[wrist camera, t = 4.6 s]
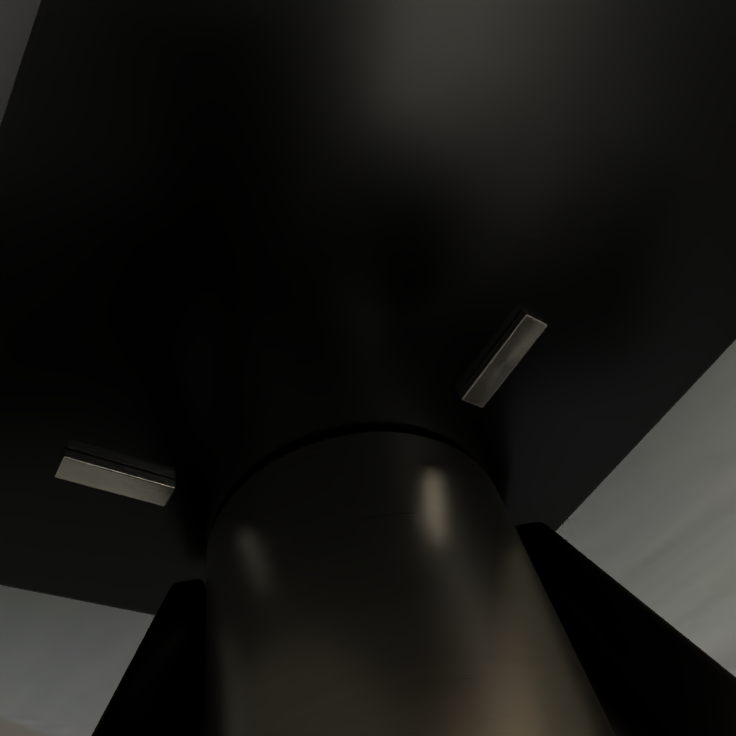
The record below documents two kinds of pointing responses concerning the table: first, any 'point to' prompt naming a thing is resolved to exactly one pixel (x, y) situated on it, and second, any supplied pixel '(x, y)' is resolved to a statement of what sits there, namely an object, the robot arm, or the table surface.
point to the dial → (382, 603)
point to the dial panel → (345, 254)
